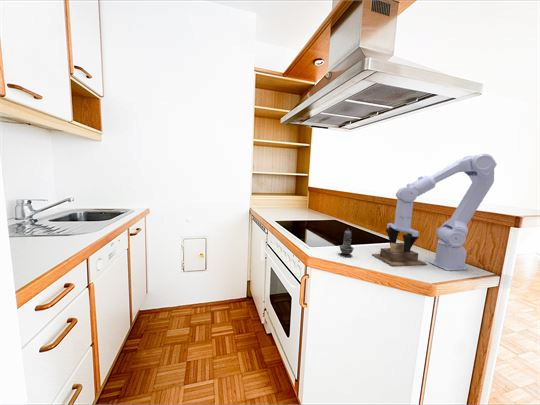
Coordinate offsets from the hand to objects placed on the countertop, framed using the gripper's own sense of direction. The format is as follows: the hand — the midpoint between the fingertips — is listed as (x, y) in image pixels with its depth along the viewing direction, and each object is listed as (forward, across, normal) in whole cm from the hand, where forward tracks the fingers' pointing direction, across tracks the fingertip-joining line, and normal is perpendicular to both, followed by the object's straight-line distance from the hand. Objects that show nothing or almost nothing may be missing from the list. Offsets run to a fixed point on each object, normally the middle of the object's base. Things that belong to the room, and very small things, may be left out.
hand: (399, 248), depth 93 cm
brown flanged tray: (+5, 0, 0) cm, 5 cm away
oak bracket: (+4, 0, 0) cm, 4 cm away
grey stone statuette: (+5, -7, -20) cm, 22 cm away
